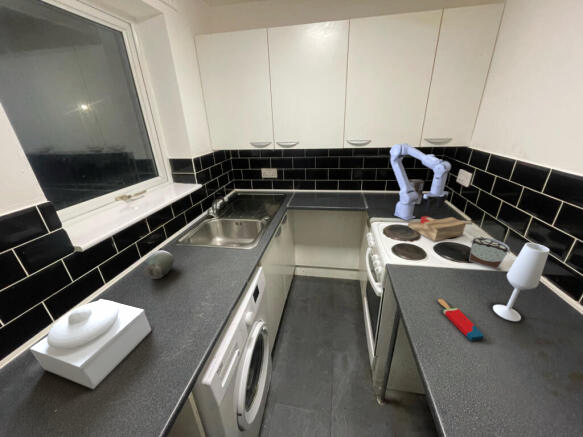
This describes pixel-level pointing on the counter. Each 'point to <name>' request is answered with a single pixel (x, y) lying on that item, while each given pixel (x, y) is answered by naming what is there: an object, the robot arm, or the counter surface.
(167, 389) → the counter surface
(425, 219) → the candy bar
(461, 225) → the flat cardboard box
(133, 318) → the butter dish
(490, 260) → the food container
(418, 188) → the coffee box
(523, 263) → the white wine glass
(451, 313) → the popsicle
